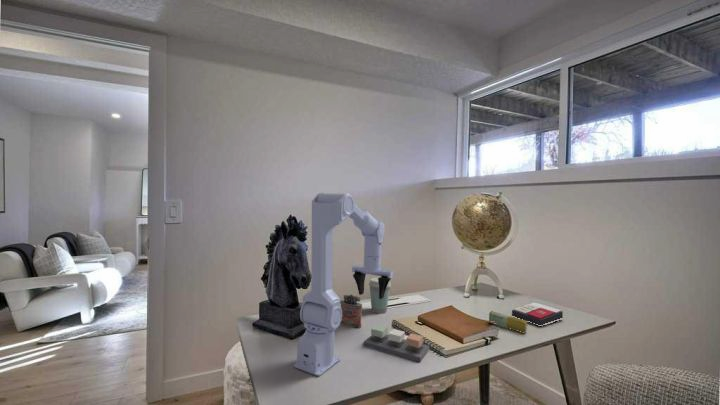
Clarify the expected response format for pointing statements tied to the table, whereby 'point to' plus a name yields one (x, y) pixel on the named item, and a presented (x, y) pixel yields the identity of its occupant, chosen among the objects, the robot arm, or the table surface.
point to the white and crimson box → (537, 313)
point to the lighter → (351, 311)
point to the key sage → (379, 331)
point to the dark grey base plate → (397, 347)
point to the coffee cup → (377, 303)
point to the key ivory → (396, 335)
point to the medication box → (508, 321)
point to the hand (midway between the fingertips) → (371, 296)
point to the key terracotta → (414, 340)
